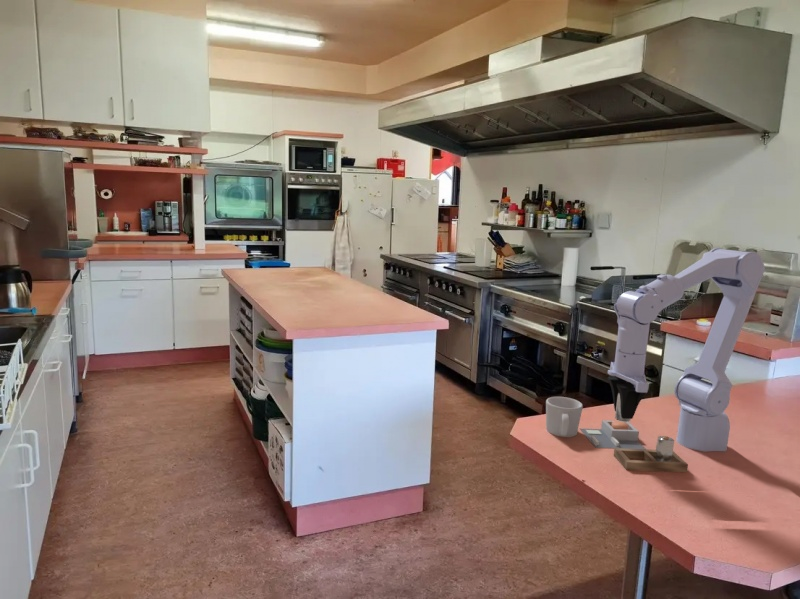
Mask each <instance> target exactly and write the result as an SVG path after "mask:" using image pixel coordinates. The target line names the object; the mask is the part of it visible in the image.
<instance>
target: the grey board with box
mask: <svg viewBox="0 0 800 599" xmlns="http://www.w3.org/2000/svg"><path fill="white" fill-rule="evenodd" d="M613 421H614V420H607V419H606V420H605V419H604V420H603V419H602V420H601V424H600V426H601V427H600V428H579V427H578V430H580V431H581V433H582V434H584V436H585V437H586V438H587V439H588V441H589V442H590V443H591V445H592V446H593V447H594V448H596V449H613V450H614V448H622V449H647V448H645V446H644V445H643V444H642V443H640V442H639V435H640V431H639V430H638V429H637V428H636V427H635V426H634V425H633V424H632V423H631V422H630V421H629V422H625V423H627V424H628V425H629V429H628V430H621V429H614V428H613V427H612V422H613ZM621 422H623V421H621Z"/></svg>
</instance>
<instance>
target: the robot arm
mask: <svg viewBox="0 0 800 599" xmlns="http://www.w3.org/2000/svg"><path fill="white" fill-rule="evenodd" d="M765 271H766V266H765V264H764V261H763V259H762V257H761V255H760V254H759V253H758V252H757V251H741V250H734V249H724V248H722V247H714V248H712V249H711V250H709V251H706V252H704V253H703V255H702V257H701V258H700V259H699V260H697V261H696V262H694V263H692V264H691V265H689V266H688V267H687V268H685V269H683V270H682V271H680V272H678V273H677V274H675V275H671V274H664V273H663V274H662V273H660V274H659V275H657V276H656V279H654V280H652V281H651V282H649V283H647V284H645V285H644V284H643V285H641V286H639V287H638V289H636V290H635V291H633V290H628V291H624V292H623V293H622V294H621V295H619V296H618V298H617V300H616V303H614V304H613V309H614V313H615V314H616V316H617V320H616V323H617V324H618V328H617V338H616V346H615V347H616V348H615V357H614V361H610V367H609V369H608V370H607V374H608V375H609V376H608V377H607V381H608V383H609V386H610V389H611V394H612V401H613V409H614V411H615V412H616V405H617V396H618V392H619V394H620V401H621V417H622V418H623V419H634V416H635V414H636V411H637V409H638V407H639V405H640V402H641V401H642V399H643V398H644V397H645V395H646V394H647V393H648V392H649V391H648V390H649V384H650V383H649V382H647V379H646V374H645V365H646V358H647V351H648V350H647V349H648V343H649V334H650V333H649V332H650V324H651V323H653V322H654V321H655V320H656V319H657V317H658V315H659V313H660V312H662V310H664V309H665V308H667V307H669V306H671V305H673V304H674V303H676V302H678V301H679V300H682V298H684V294H685V291H686V290H688V289H691V288H692V287H695V286H697V285H700V284H702V283H704V282H706V281H708V280H709V279H710V280H712V282H714V284H715V285H716V286H717V287H718V288H719V290H721V292H722V294H723V297H722V299H721V302H720V305H719V308H718V310H717V312H716V315H715V318H714V320H713V323H712V325H711V328H710V331H709V332H708V336H707V337H706V341H705V344H704V346H703V348H702V351H701V353H700V356H699V357H698V361H697V363H694V364H693V365H689V366H686V367H685V368H684V372H683V374H682V375H681V377H679V379H678V380H677V381H676V383H675V385H674V390H673V391H674V395H675V398H676V399H677V400H678V406H680V410H679V418H678V424H677V426H678V427H677V431H676V432H677V434H676V440H675V441H676V443H677V444H679V445H680V446H682V447H685V448H687V449H691V450H695V451H700V452H727V448H728V443H729V442H728V441H729V436H730V430H731V429H730V428H731V423H730V419H729V416H728V415H727V413H726V412H725V410H727V408H728V407H729V404H730V396H731V390H732V387H733V384H732V381H731V380H730V379H729V377H728V376H727V374H726V369H727V367H728V363H729V362H730V359H731V357H732V355H733V352H734V350H735V346H736V344H737V342H738V339H739V337H740V334H741V332H742V329H743V327H744V324H745V322H746V320H747V316H748V315H749V311H750V309H751V307H752V304H753V301H754V299H755V295H756V293H757V291H758V288H759V285H760V283H761V280H762V279H763V275H764V273H765ZM704 379H706V380H708V381H706V380H704ZM709 381H710V382H709Z"/></svg>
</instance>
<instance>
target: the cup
mask: <svg viewBox="0 0 800 599" xmlns="http://www.w3.org/2000/svg"><path fill="white" fill-rule="evenodd" d="M583 409H584V406H583V403H582V402H580V401H579V400H577V399H574V398H571V397H566V396H565V397H564V396H551V397H548V398H547V399H546V400H545V421H546V422H545V424H546V425H545V427H546V428H545V429H546V431H547V432H548V433H549V434H551V435H554V436H556V437H557V436H558V437H562V438H572V437H575V436H577V435H578V430H579V427H580V421H581V418H582V412H583Z"/></svg>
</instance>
